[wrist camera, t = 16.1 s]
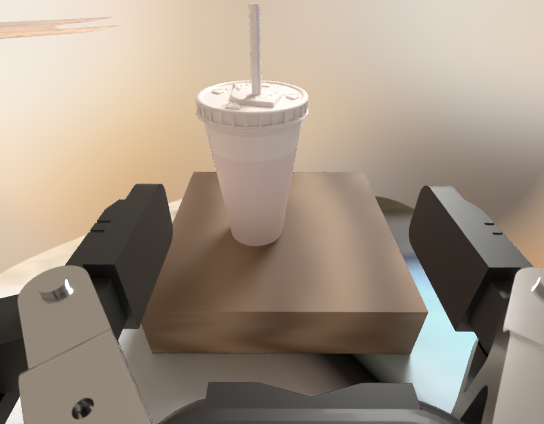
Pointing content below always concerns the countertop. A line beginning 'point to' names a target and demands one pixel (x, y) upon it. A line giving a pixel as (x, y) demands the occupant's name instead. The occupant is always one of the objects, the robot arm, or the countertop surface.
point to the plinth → (286, 277)
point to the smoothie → (254, 144)
